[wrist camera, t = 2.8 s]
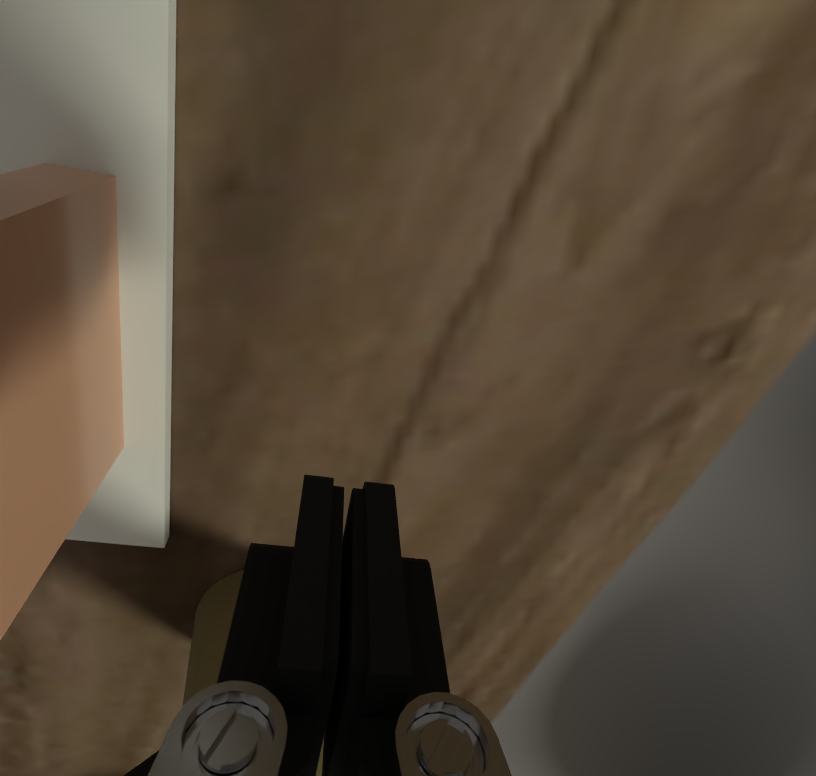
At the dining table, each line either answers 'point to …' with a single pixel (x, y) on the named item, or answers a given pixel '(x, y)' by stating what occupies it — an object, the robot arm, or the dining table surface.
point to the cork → (214, 637)
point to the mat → (136, 205)
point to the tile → (54, 363)
